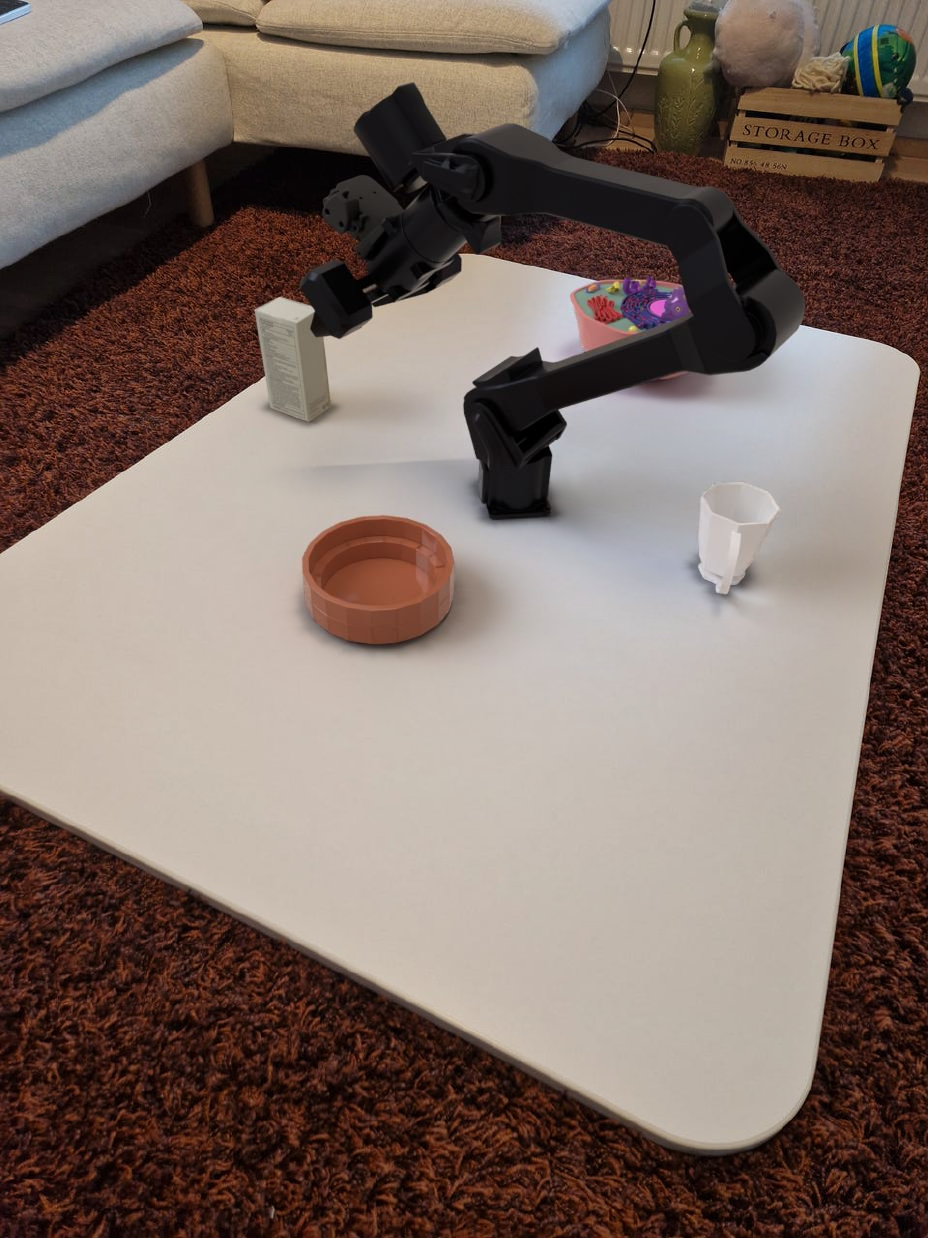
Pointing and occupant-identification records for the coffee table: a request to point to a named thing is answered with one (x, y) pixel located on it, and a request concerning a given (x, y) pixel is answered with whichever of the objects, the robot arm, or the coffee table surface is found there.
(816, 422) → the coffee table surface
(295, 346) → the cosmetic box
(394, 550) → the terracotta bowl
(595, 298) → the cell model
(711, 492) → the cup
